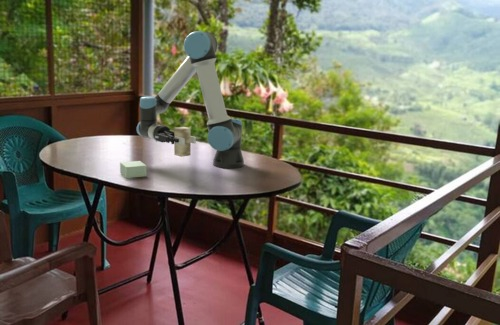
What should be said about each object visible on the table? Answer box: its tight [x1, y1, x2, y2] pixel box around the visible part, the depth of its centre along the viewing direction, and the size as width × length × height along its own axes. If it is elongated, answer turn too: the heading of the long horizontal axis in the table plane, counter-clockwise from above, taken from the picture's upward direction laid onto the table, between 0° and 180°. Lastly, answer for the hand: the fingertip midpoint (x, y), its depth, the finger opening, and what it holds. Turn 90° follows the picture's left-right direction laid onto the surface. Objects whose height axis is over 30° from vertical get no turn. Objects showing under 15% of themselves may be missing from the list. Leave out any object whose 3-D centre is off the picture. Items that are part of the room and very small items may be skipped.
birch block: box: [173, 126, 192, 158], centre depth 223 cm, size 5×5×12 cm
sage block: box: [119, 160, 148, 179], centre depth 226 cm, size 9×9×5 cm
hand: (189, 141), depth 219 cm, fingers closed on birch block, 5 cm apart
